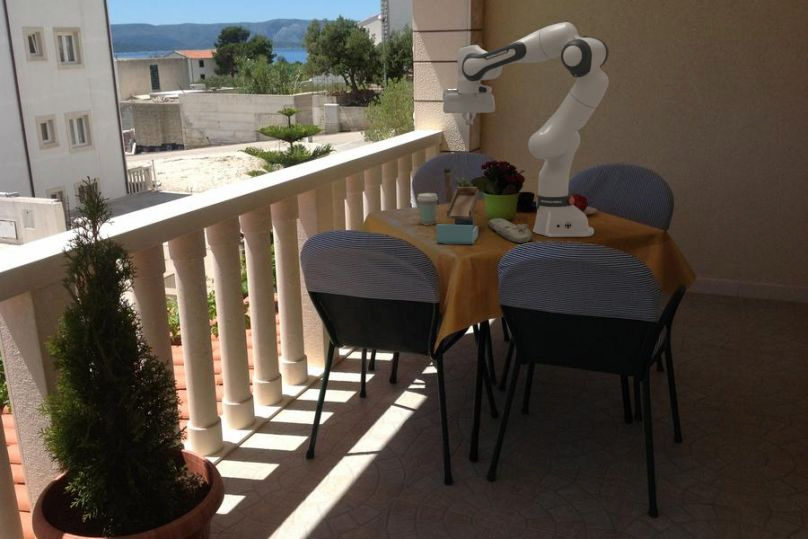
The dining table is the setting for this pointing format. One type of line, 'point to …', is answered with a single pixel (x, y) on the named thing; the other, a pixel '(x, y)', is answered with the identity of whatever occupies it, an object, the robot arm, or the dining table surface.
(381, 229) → the dining table surface
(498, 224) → the elongated rock
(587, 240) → the dining table surface
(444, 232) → the light blue box
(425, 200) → the coffee cup
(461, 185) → the house plant
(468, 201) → the walnut chute
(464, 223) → the fulcrum stand
